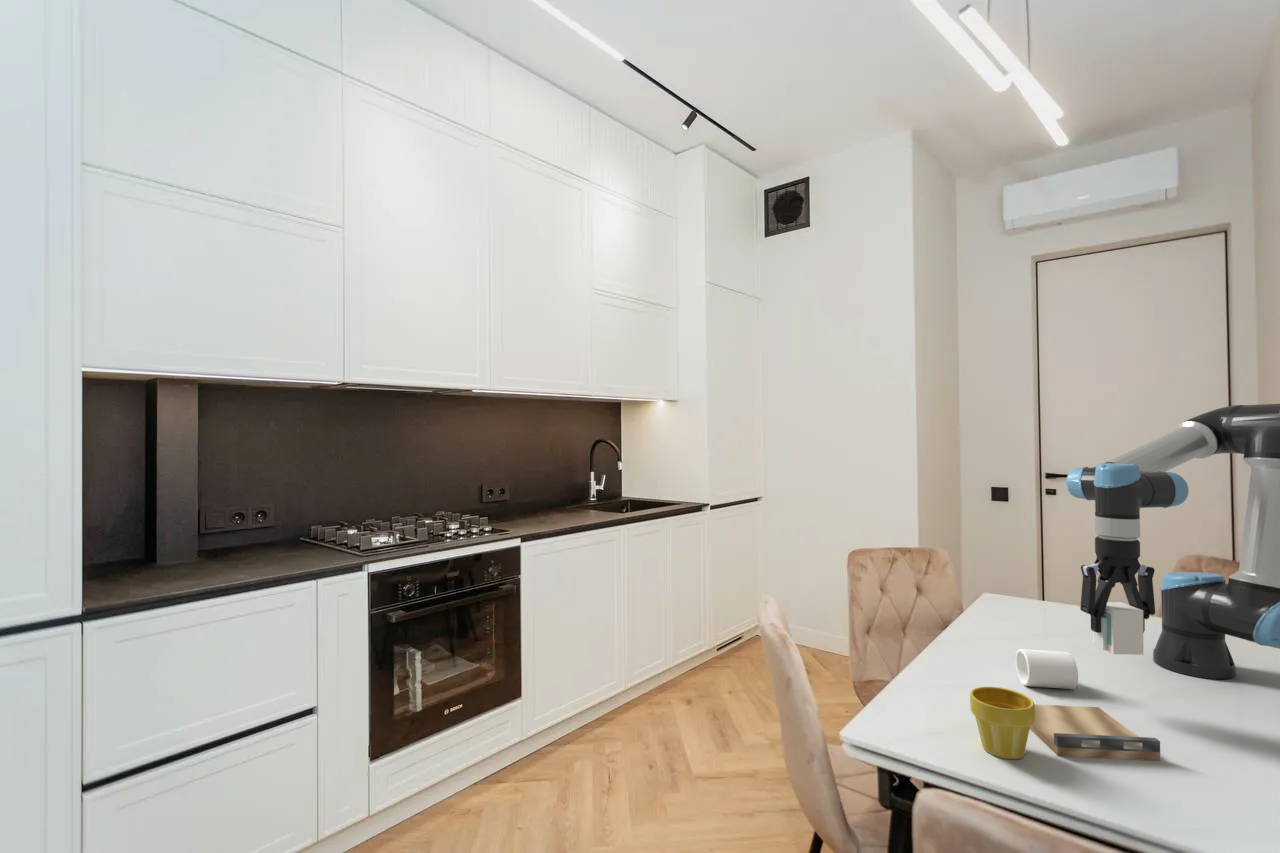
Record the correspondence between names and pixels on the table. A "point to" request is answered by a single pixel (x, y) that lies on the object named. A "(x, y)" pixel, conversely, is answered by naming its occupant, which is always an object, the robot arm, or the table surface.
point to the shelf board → (1090, 734)
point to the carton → (1124, 628)
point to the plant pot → (1002, 720)
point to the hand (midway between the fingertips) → (1117, 647)
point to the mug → (1046, 669)
